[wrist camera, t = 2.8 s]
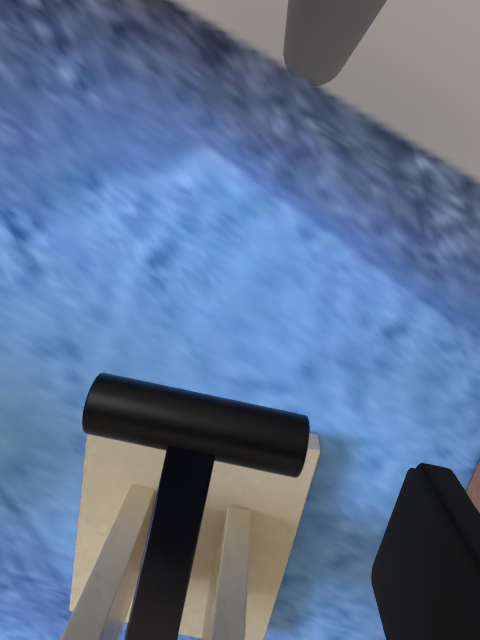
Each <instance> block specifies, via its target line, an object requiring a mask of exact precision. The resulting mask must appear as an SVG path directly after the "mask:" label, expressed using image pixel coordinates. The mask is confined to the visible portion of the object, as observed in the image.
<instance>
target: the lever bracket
mask: <svg viewBox="0 0 480 640" xmlns="http://www.w3.org/2000/svg"><path fill="white" fill-rule="evenodd" d="M320 453H321V450H320V444H319V439H318V435H317V434H313V433H309V444H308V450H307V455H306V460H305V463H304V467H303V469H302V472H301V474H300V475H299V477H297V478H293V477H289V476H284V475H279V474H275V473H270V472H265V471H260V470H256V469H251V468H246V467H241V466H237V465H232V464H227V463H222V462H218V461H214V466H213V471H212V476H211V480H210V485H209V490H208V495H207V499H206V504H205V509H204V514H203V519H202V523H201V528H200V533H199V538H198V542H197V547H196V552H195V557H194V562H193V566H192V571H191V576H190V581H189V586H188V590H187V595H186V600H185V605H184V609H183V614H182V619H181V624H180V629H179V633H178V634H181V635H186V636H191V637H195V638H200V639H201V640H264V639H265V635H266V632H267V629H268V625H269V622H270V619H271V615H272V612H273V609H274V606H275V602H276V599H277V596H278V592H279V589H280V586H281V582H282V579H283V576H284V572H285V569H286V566H287V562H288V559H289V556H290V552H291V549H292V546H293V542H294V539H295V536H296V533H297V529H298V526H299V523H300V519H301V516H302V513H303V509H304V506H305V503H306V499H307V496H308V493H309V489H310V486H311V483H312V479H313V476H314V473H315V470H316V466H317V463H318V460H319V456H320ZM165 455H166V451H165V450H161V449H156V448H151V447H146V446H142V445H137V444H132V443H127V442H123V441H118V440H113V439H108V438H104V437H99V436H94V435H89V434H87V440H86V450H85V460H84V470H83V480H82V490H81V499H80V509H79V519H78V529H77V539H76V549H75V559H74V568H73V578H72V588H71V598H70V608H69V610H70V611H73V613H72V615H71V617H70V620H69V622H68V624H67V626H66V628H65V631H64V633H63V635H62V637H61V639H60V640H119V638H120V635H121V632H122V629H123V626H124V623H128V621H129V616H130V612H131V607H132V603H133V598H134V594H135V589H136V585H137V580H138V576H139V571H140V567H141V562H142V558H143V553H144V549H145V544H146V540H147V535H148V531H149V526H150V522H151V517H152V513H153V508H154V504H155V499H156V495H157V490H158V486H159V481H160V477H161V472H162V468H163V463H164V459H165Z"/></svg>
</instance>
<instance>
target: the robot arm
mask: <svg viewBox="0 0 480 640" xmlns="http://www.w3.org/2000/svg"><path fill="white" fill-rule="evenodd" d="M371 579H372V587H373V590H374V594H375V598H376V602H377V606H378V610H379V613H380V617H381V621H382V625H383V629H384V633H385V636H386V640H480V513H479V511H478V510H477V508H476V507H475V505H474V504H473V502H472V501H471V499H470V498H469V496H468V494H467V493H466V491H465V490H464V488H463V487H462V485H461V484H460V482H459V481H458V479H457V477H456V476H455V474H454V473H453V472H452V470H451V469H448V468H445V467H440V466H435V465H430V464H425V463H421V464H419V465H418V466H417V467H416V469H415V468H410V469H409V470H408V472H407V474H406V477H405V480H404V482H403V485H402V488H401V490H400V493H399V496H398V498H397V501H396V504H395V507H394V509H393V512H392V515H391V517H390V520H389V523H388V526H387V528H386V531H385V534H384V536H383V539H382V542H381V545H380V547H379V550H378V553H377V555H376V558H375V561H374V564H373V567H372V574H371Z"/></svg>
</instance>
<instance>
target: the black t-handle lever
mask: <svg viewBox="0 0 480 640" xmlns="http://www.w3.org/2000/svg"><path fill="white" fill-rule="evenodd" d="M82 426H83V431H84V432H85V433H86V434H89V435H94V436H99V437H104V438H108V439H113V440H118V441H123V442H127V443H132V444H137V445H142V446H146V447H151V448H156V449H161V450H165V451H166V455H165V459H164V463H163V468H162V472H161V477H160V481H159V486H158V490H157V495H156V499H155V504H154V508H153V513H152V517H151V522H150V526H149V531H148V535H147V540H146V544H145V549H144V553H143V558H142V562H141V567H140V571H139V576H138V580H137V585H136V589H135V594H134V598H133V603H132V607H131V612H130V616H129V621H128V625H127V630H126V634H125V639H124V640H177V638H178V633H179V629H180V624H181V619H182V614H183V609H184V605H185V600H186V595H187V590H188V586H189V581H190V576H191V571H192V566H193V562H194V557H195V552H196V547H197V542H198V538H199V533H200V528H201V523H202V519H203V514H204V509H205V504H206V499H207V495H208V490H209V485H210V480H211V476H212V471H213V466H214V461H218V462H222V463H227V464H232V465H237V466H241V467H246V468H251V469H256V470H260V471H265V472H270V473H275V474H279V475H284V476H289V477H293V478H297V477H299V475H300V474H301V472H302V469H303V467H304V463H305V460H306V455H307V450H308V444H309V433H310V425H309V419H308V417H307V416H306V415H302V414H297V413H292V412H287V411H283V410H278V409H273V408H268V407H264V406H259V405H254V404H249V403H245V402H240V401H235V400H230V399H226V398H221V397H216V396H211V395H207V394H202V393H197V392H192V391H188V390H183V389H178V388H173V387H169V386H164V385H159V384H154V383H150V382H145V381H140V380H135V379H131V378H126V377H121V376H116V375H112V374H107V373H101V374H99V375H98V376H97V377H96V379H95V380H94V382H93V384H92V386H91V388H90V390H89V393H88V396H87V399H86V402H85V406H84V411H83V418H82Z"/></svg>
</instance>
